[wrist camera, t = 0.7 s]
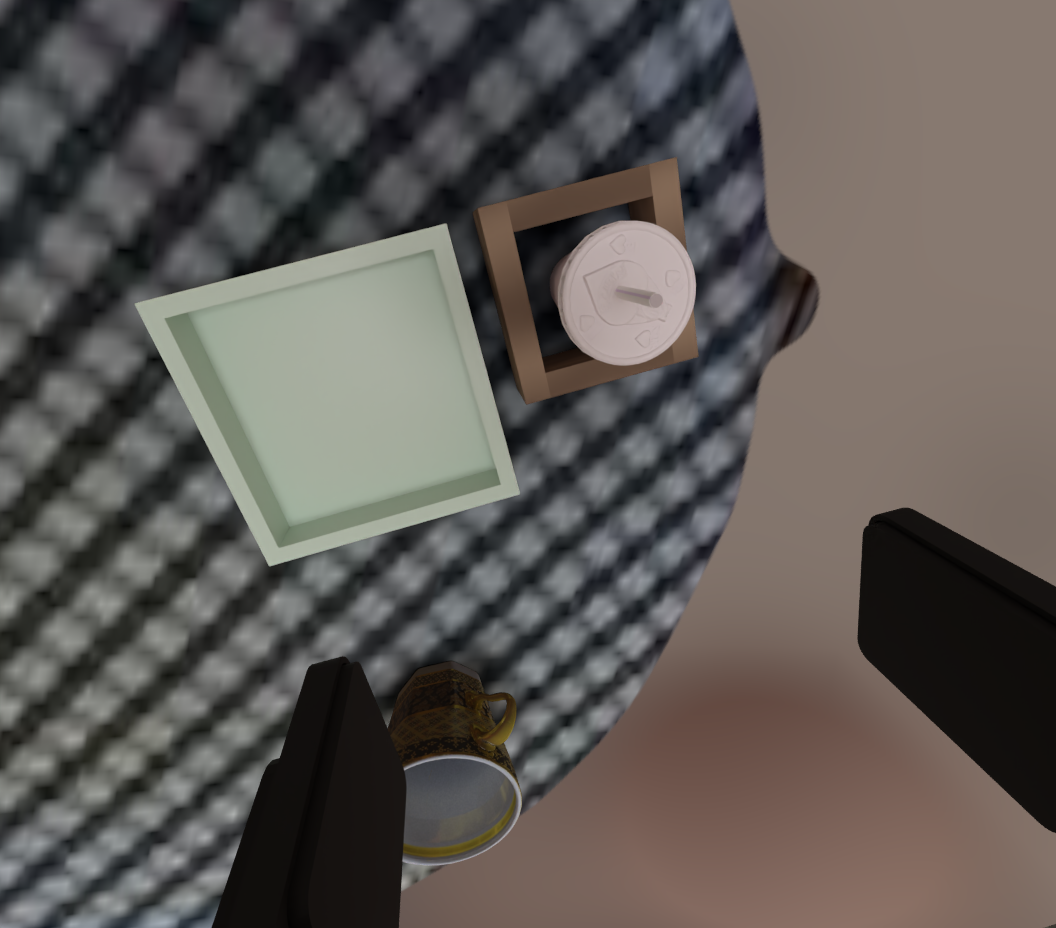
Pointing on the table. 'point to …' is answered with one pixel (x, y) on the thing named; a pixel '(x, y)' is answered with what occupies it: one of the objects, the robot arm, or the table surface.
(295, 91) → the table surface
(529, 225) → the socket block
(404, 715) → the ceramic cup
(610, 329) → the smoothie
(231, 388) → the tray
